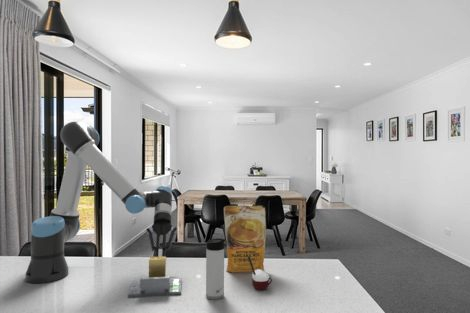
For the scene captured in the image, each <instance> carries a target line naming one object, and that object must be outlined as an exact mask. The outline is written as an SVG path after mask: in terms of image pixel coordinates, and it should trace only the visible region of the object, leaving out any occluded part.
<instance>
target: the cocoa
mask: <svg viewBox="0 0 470 313" xmlns="http://www.w3.org/2000/svg"><path fill="white" fill-rule="evenodd" d="M248 260H249V262H250V265H251V268H252V271H253V272H252V275H251V277H252V279H251V280H252V281H251V282H252V286H253V287H254V289H256V290H257V291H264V290H266V289H267V288H268V286H270V285H271V284H272V282H273V279H272V277H270V274H268V273H267V272H266V271H265V270H260V269H258V270H255V271H254V268H253V265H252V262H251V259H250V257H249V256H248Z"/></svg>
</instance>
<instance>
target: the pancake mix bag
mask: <svg viewBox="0 0 470 313" xmlns="http://www.w3.org/2000/svg"><path fill="white" fill-rule="evenodd" d="M263 206H264V205H245V204H244V205H241V204H239V205H225V206H224V207H223V221H224V230H225V231H224V233H225V234H224V235H225V241H226V254H227V266H226V271H225V272H230V273H235V274H238V273H241V274H243V273H244V274H245V273H253V271H252V268H251V265H250V262H249V260H248V256H249V257H250V259H251V262H252V265H253V268H254V271H255V270H258V269H260V270H262V271H265V267H264V260H265V249H266V248H265V247H266V235H267V220H266V219H267V218H266V217H267V216H266V214H267V211H266V207H263Z"/></svg>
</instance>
